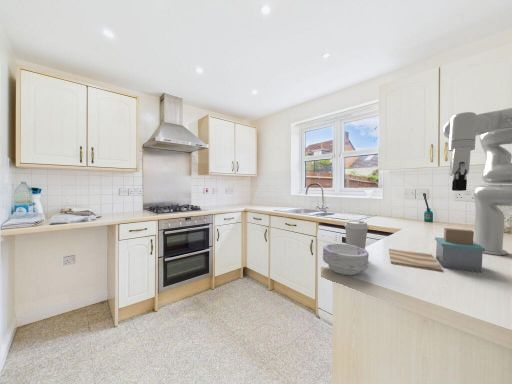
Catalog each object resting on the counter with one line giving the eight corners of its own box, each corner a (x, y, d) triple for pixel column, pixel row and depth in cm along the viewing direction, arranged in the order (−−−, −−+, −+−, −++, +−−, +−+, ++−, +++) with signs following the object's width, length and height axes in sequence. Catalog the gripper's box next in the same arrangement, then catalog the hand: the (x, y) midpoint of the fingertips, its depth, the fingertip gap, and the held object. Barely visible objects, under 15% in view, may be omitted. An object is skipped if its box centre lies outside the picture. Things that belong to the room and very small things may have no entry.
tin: (435, 258, 95) (436, 239, 95) (470, 263, 90) (471, 243, 89) (442, 266, 86) (443, 246, 85) (481, 272, 80) (482, 250, 80)
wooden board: (389, 250, 106) (389, 248, 106) (431, 255, 99) (431, 254, 99) (390, 263, 89) (390, 261, 89) (442, 271, 81) (442, 269, 81)
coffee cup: (361, 262, 89) (362, 225, 89) (339, 256, 96) (340, 221, 96) (371, 257, 96) (372, 222, 95) (349, 252, 103) (350, 219, 102)
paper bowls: (378, 276, 76) (379, 253, 76) (340, 281, 72) (340, 257, 72) (347, 261, 91) (348, 241, 90) (314, 264, 86) (315, 244, 86)
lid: (434, 243, 96) (435, 225, 95) (472, 247, 90) (473, 228, 89) (441, 250, 85) (442, 230, 85) (484, 255, 79) (486, 234, 79)
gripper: (446, 150, 96) (444, 190, 96) (450, 143, 82) (447, 189, 82) (471, 149, 91) (468, 191, 92) (479, 141, 77) (476, 190, 78)
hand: (458, 190), depth 87 cm, fingers open, 9 cm apart
